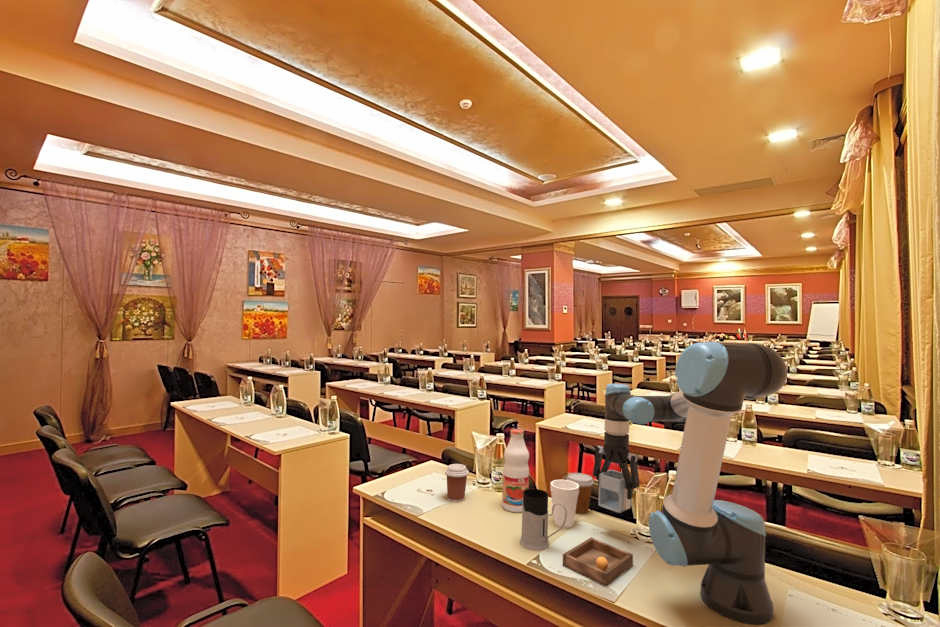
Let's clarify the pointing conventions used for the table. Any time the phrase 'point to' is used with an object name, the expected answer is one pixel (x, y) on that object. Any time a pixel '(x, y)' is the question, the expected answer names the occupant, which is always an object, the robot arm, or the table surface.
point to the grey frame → (612, 491)
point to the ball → (602, 563)
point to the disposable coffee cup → (582, 490)
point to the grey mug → (536, 519)
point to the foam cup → (564, 501)
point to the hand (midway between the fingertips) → (614, 504)
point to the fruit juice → (515, 472)
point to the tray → (587, 554)
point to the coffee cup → (456, 482)
